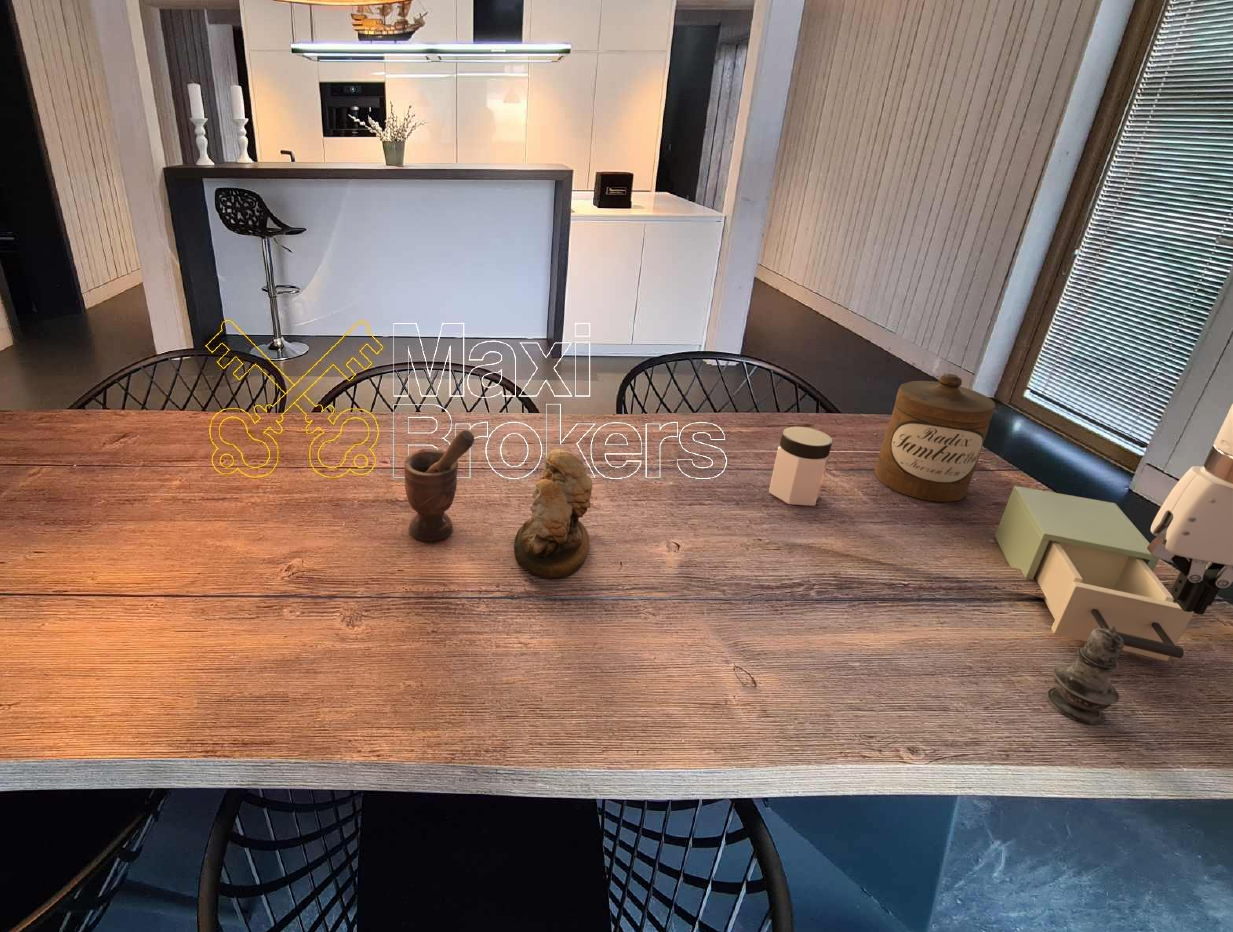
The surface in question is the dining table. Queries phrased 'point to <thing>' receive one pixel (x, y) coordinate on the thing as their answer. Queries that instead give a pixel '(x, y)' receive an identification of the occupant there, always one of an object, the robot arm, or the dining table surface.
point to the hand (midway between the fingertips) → (1186, 605)
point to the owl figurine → (556, 519)
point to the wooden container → (934, 439)
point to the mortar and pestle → (434, 487)
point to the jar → (800, 465)
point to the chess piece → (1088, 679)
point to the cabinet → (1064, 528)
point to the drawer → (1110, 599)
